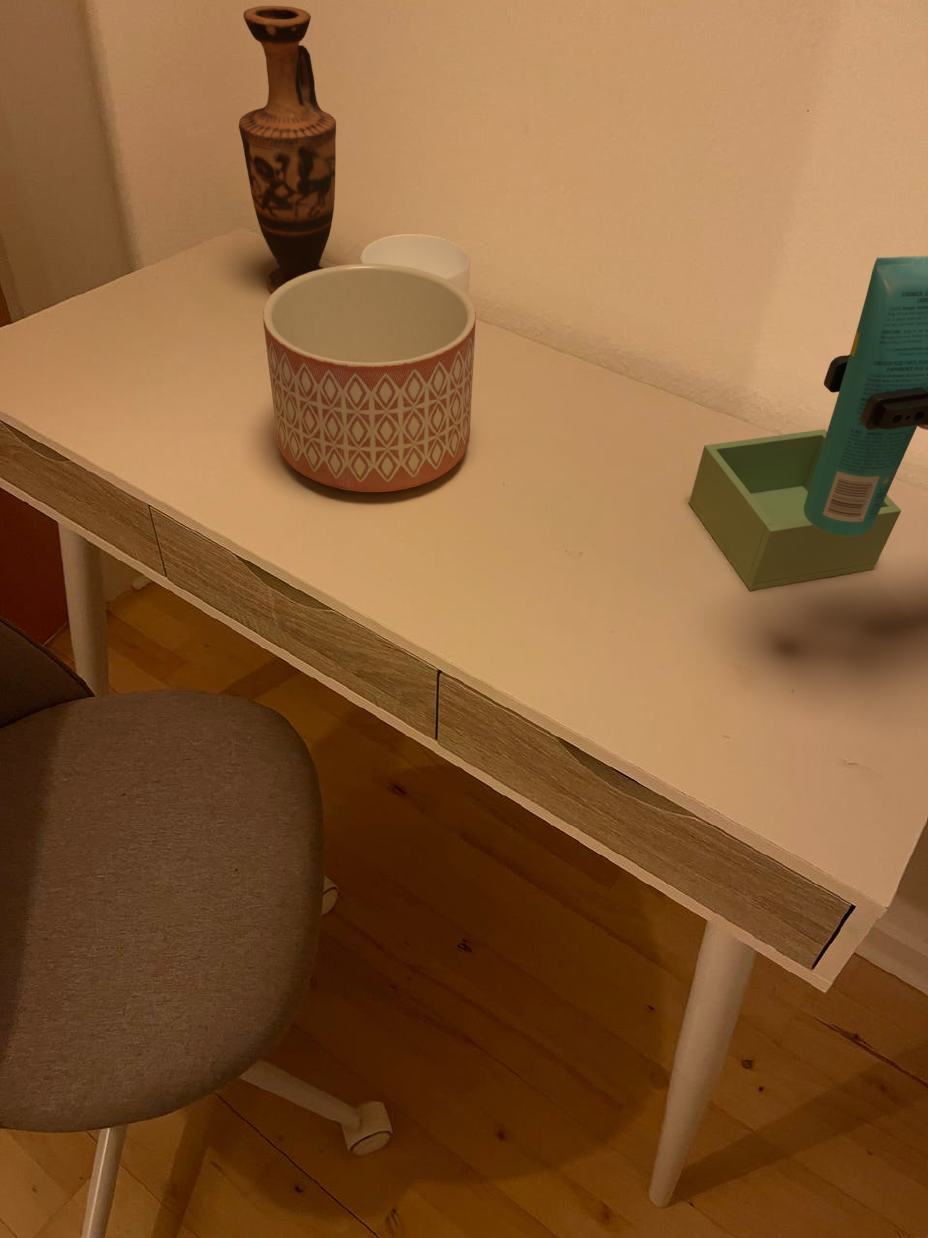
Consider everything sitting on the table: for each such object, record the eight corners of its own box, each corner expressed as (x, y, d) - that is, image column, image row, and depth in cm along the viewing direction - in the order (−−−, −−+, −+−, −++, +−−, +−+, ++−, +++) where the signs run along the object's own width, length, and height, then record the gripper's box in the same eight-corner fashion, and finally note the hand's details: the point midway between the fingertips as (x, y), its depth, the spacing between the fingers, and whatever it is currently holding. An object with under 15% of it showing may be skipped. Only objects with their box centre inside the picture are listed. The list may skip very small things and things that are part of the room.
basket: (874, 569, 85) (901, 510, 81) (749, 590, 83) (770, 531, 78) (803, 486, 94) (824, 428, 89) (688, 503, 91) (704, 444, 86)
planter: (241, 469, 92) (219, 329, 82) (340, 378, 105) (332, 247, 94) (415, 528, 87) (416, 387, 76) (498, 424, 99) (508, 291, 89)
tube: (864, 489, 70) (970, 233, 56) (900, 531, 67) (1022, 269, 53) (773, 503, 68) (859, 243, 55) (805, 545, 65) (906, 281, 51)
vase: (308, 315, 114) (286, 32, 93) (240, 291, 118) (203, 13, 97) (361, 282, 121) (351, 11, 100) (294, 260, 125) (271, -6, 103)
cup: (470, 338, 112) (475, 238, 104) (459, 390, 104) (464, 286, 95) (373, 329, 113) (370, 229, 104) (354, 380, 104) (350, 276, 96)
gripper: (1028, 262, 65) (807, 286, 62) (1188, 367, 56) (938, 403, 52) (982, 359, 70) (776, 386, 67) (1121, 471, 61) (890, 509, 57)
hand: (849, 393), depth 59 cm, fingers closed on tube, 3 cm apart
